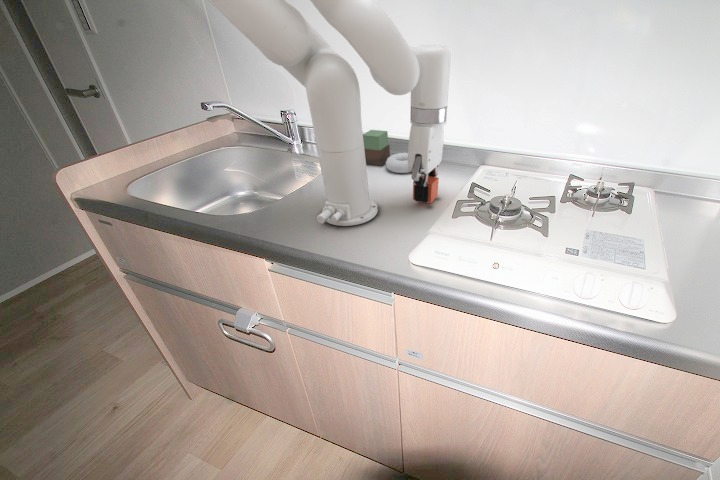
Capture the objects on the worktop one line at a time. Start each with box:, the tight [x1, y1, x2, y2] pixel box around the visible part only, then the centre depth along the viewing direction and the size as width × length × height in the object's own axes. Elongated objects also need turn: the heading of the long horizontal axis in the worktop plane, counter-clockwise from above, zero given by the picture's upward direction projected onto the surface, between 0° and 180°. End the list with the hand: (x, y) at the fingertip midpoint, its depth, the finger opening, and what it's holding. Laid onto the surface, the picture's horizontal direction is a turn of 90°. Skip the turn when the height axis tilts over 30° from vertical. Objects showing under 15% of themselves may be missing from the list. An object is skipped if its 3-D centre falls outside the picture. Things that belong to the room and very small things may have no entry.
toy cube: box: [412, 174, 439, 204], centre depth 84 cm, size 4×4×4 cm
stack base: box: [364, 144, 391, 167], centre depth 109 cm, size 6×6×4 cm
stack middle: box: [363, 129, 389, 151], centre depth 106 cm, size 6×6×4 cm
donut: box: [385, 152, 413, 174], centre depth 104 cm, size 10×4×10 cm
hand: (425, 196), depth 85 cm, fingers closed on toy cube, 4 cm apart
